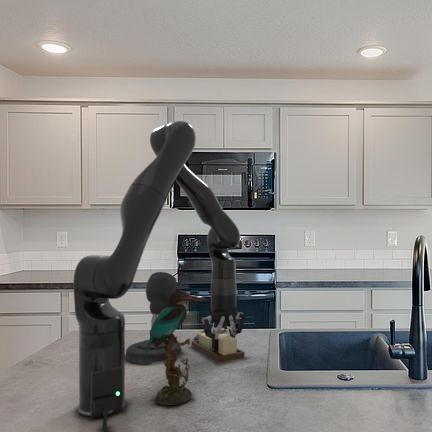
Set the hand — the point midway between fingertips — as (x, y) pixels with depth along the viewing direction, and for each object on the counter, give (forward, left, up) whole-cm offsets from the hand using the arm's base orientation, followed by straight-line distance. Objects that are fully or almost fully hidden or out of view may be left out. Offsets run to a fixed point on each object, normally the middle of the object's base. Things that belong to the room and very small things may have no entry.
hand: (223, 349), depth 134 cm
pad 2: (0, 0, 0) cm, 0 cm away
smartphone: (+24, -7, -2) cm, 25 cm away
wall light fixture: (+16, +15, -2) cm, 22 cm away
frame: (+5, 0, -2) cm, 5 cm away
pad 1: (+9, 0, -2) cm, 9 cm away
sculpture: (-21, +23, -2) cm, 31 cm away
